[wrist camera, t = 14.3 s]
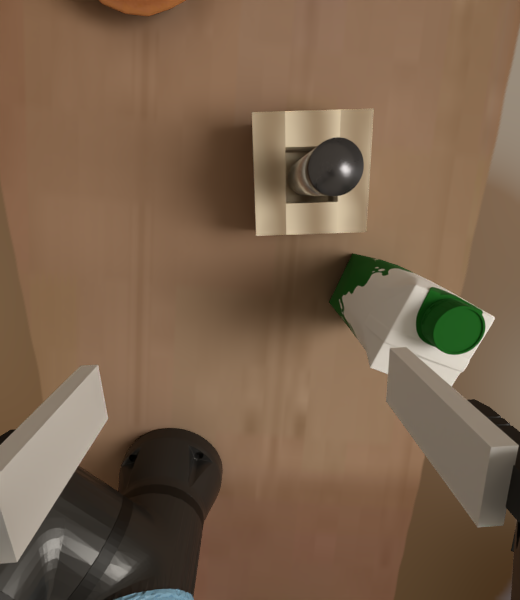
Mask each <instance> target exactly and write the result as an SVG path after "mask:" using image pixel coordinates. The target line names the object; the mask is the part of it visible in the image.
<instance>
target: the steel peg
mask: <svg viewBox="0 0 520 600" xmlns="http://www.w3.org/2000/svg"><path fill="white" fill-rule="evenodd" d="M363 169H364V161H363V156H362V153H361V151H360V149H359V148H358V147H357V145H356V144H354V143H353V142H352V141H350V140H348V139H346V138H341V137H336V138H331V139H328V140H326V141H324V142H322V143H321V144H320V145H318V146H317V147H316V148H314V149H313V150H312V151H310V152H309V153H308V154H306V155H305V156H304V157H302V158H301V159H300V160H298V161H297V162H296V163H294V164H293V165H292V167H291V168H290V170H289V173H288V183H289V186H290V188H291V189H292V190H293V191H294V192H295V193H297V194H299V195H309V196H341V195H344V194H346V193H348V192H350V191H351V190H352V189H353V188H355V186H356V185H357V184H358V183H359V181H360V179H361V177H362V174H363Z"/></svg>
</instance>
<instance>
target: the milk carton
mask: <svg viewBox="0 0 520 600" xmlns="http://www.w3.org/2000/svg"><path fill="white" fill-rule="evenodd" d="M329 303H330V304H331V305H332V307H333V308H334V309H335V310H336V312H337V313H338V314H339V315H340V317H341V318H342V319H343V320H344V322H345V323H346V324H347V326H348V327H349V328H350V330H351V331H352V332H353V334H354V335H355V336H356V338H357V339H358V341H359V342H360V343H361V345H362V346H363V347H364V349H365V350H366V352H367V356H368V360H369V365H370V368H373V369H375V370H378V371H381V372H383V373H386V374H388V367H389V352H390V348H397V347H407V348H408V349H409V350H410V351H411V352H413V353H414V354H415V355H416V356H417V357H418V358H419V359H421V360H422V361H423V362H424V363H425V364H426V365H427V366H429V367H430V368H431V369H432V370H433V371H434V372H435V373H437V374H438V375H439V376H440V377H441V378H442V379H443V380H445V381H446V382H447V383H448V384H449V385H450V386H452V385H453V383H454V382H455V380H456V378H457V377H458V375H459V374H460V372H463V371H464V370H465V368H466V367H467V365H468V363H469V361H470V358H471V357H472V355H473V354H474V352H475V351H476V349H477V347H478V346H479V344H480V343H481V341H482V339H483V337H484V336H485V334H486V333H487V331H488V329H489V328H490V326H491V325H492V323H493V321H494V319H495V318H494V316H492V315H490V314H489V313H487V312H485V311H483V310H482V309H480V308H478V307H476V306H475V305H473V304H471V303H469V302H467V301H466V300H464V299H462V298H461V297H459V296H457V295H455V294H454V293H452V292H450V291H448V290H446V289H445V288H443V287H441V286H439V285H437V284H435V283H433V282H432V281H430V280H428V279H425V278H423V277H421V276H419V275H417V274H415V273H413V272H411V271H409V270H407V269H404V268H402V267H400V266H398V265H395V264H392V263H389V262H386V261H383V260H379V259H375V258H371V257H366V256H361V255H357V254H352V256H351V258H350V260H349V262H348V264H347V266H346V268H345V270H344V272H343V274H342V276H341V278H340V281H339V283H338V285H337V287H336V289H335V291H334V293H333V295H332V297H331V299H330V301H329Z"/></svg>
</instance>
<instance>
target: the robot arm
mask: <svg viewBox="0 0 520 600" xmlns="http://www.w3.org/2000/svg"><path fill="white" fill-rule="evenodd" d="M386 402H387V403H388V404H389V406H390V407H391V409H392V410H393V411H394V413H395V414H396V415H397V417H398V418H399V420H400V421H401V422H402V424H403V425H404V426H405V428H406V429H407V431H408V432H409V433H410V435H411V436H412V437H413V439H414V440H415V442H416V443H417V444H418V446H419V447H420V448H421V450H422V451H423V453H424V454H425V455H426V457H427V458H428V460H429V461H430V462H431V464H432V465H433V466H434V468H435V469H436V471H437V472H438V473H439V475H440V476H441V477H442V478H443V480H444V481H445V483H446V484H447V486H448V487H449V488H450V490H451V491H452V493H453V494H454V495H455V497H456V498H457V499H458V500H459V502H460V504H461V505H462V506H463V508H464V509H465V510H466V512H467V513H468V515H469V516H470V517H471V519H472V520H473V522H474V523H475V524H476V526H477V527H489V526H502V525H504V519H505V514H506V509H508V510H509V511H510V513H512V515H513V516H514V517H515V518H516V519H517V524H516V529H515V534H514V539H513V544H512V549H511V551H513V552H514V559H513V576H512V591H511V600H520V432H519V431H518V430H517V429H515V428H514V427H513V426H510V424H509V423H508V422H507V421H506V420H505V419H503V418H501V416H500V415H499V414H497V413H496V412H495V411H493V410H492V409H491V408H490V407H488V406H486V405H484V404H482V403H480V402H479V401H477V400H474V399H473V400H466V399H465V398H464V397H463V396H462V395H461V394H459V393H458V392H457V391H456V390H455V389H454V388H453V387H451V386H450V385H449V384H448V383H447V382H446V381H445V380H443V379H442V378H441V377H440V376H439V375H438V374H437V373H435V372H434V371H433V370H432V369H431V368H430V367H429V366H427V365H426V364H425V363H424V362H423V361H422V360H421V359H419V358H418V357H417V356H416V355H415V354H414V353H413V352H411V351H410V350H409V349H408V348H407V347H397V348H390V352H389V367H388V382H387V397H386ZM107 420H108V415H107V410H106V405H105V399H104V394H103V389H102V383H101V378H100V372H99V367H98V365H86V366H80V367H79V368H78V369H77V370H76V371H75V372H74V373H73V374H72V375H71V376H70V377H69V378H68V379H67V380H66V381H65V382H64V383H63V384H62V385H61V386H60V387H59V388H58V389H57V390H56V391H54V392H53V393H52V394H51V395H50V396H49V397H48V398H47V399H46V400H45V401H44V402H43V403H42V404H41V405H40V406H39V407H38V408H37V409H36V410H35V411H34V412H33V413H32V414H31V415H30V416H29V417H28V418H27V419H26V420H25V421H24V422H23V423H22V424H21V425H20V426H19V427H18V428H17V429H16V430H9V431H8V432H6V433H5V434H3V435H1V436H0V600H194V598H193V595H194V588H195V581H196V574H197V567H198V560H199V552H200V545H201V538H202V530H203V524H204V520H205V519H206V517H207V515H208V513H209V511H210V509H211V507H212V505H213V503H214V501H215V500H216V498H217V496H218V493H219V491H220V487H221V481H222V462H221V459H220V457H219V455H218V453H217V451H216V450H215V448H214V447H213V446H212V445H211V444H210V443H209V442H208V441H207V440H205V439H204V438H202V437H201V436H199V435H197V434H195V433H192V432H190V431H186V430H181V429H160V430H156V431H152V432H150V433H147V434H145V435H143V436H142V437H140V438H139V439H138V440H136V441H135V442H134V443H133V444H132V446H131V447H130V448H129V450H128V452H127V454H126V456H125V458H124V460H123V462H122V465H121V468H120V473H119V488H118V491H117V490H115V489H113V488H112V487H110V486H109V485H107V484H106V483H104V482H103V481H101V480H99V479H98V478H96V477H95V476H93V475H92V474H90V473H89V472H87V471H86V470H84V469H83V468H81V467H80V466H78V465H79V464H80V462H81V461H82V459H83V458H84V456H85V454H86V453H87V451H88V450H89V448H90V447H91V445H92V443H93V442H94V440H95V439H96V437H97V436H98V434H99V432H100V431H101V429H102V428H103V426H104V424H105V423H106V421H107Z"/></svg>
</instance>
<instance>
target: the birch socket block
mask: <svg viewBox="0 0 520 600" xmlns="http://www.w3.org/2000/svg"><path fill="white" fill-rule="evenodd" d="M373 112H374V109H342V110H309V111H276V112H252V141H253V169H254V198H255V226H256V236H267V235H295V234H324V233H353V232H367V215H368V198H369V181H370V163H371V146H372V129H373ZM336 137H341V138H346V139H348V140H350V141H352V142H353V143H354V144H356V145H357V147H358V148H359V149H360V151H361V153H362V156H363V161H364V169H363V174H362V177H361V179H360V181H359V183H358V184H357V185H356V186H355V188H353V189H352V190H351V191H350V192H348V193H346V194H344V195H341V196H309V195H299V194H297V193H295V192H294V191H293V190H292V189H291V188H290V186H289V183H288V173H289V170H290V168H291V167H292V165H293V164H294V163H296V162H297V161H298V160H300V159H301V158H302V157H304V156H305V155H306V154H308V153H309V152H310V151H312V150H313V149H314V148H316V147H317V146H318V145H320V144H321V143H322V142H324V141H326V140H328V139H331V138H336Z"/></svg>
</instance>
